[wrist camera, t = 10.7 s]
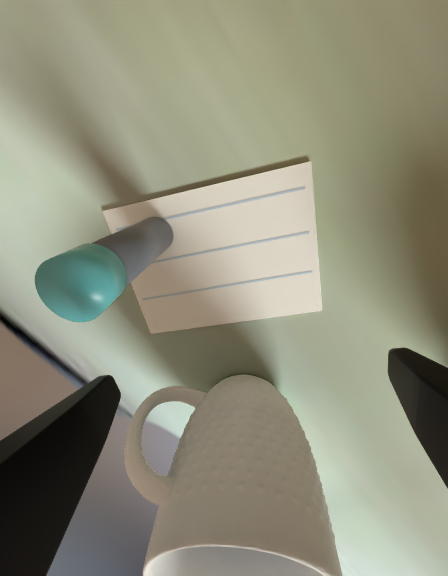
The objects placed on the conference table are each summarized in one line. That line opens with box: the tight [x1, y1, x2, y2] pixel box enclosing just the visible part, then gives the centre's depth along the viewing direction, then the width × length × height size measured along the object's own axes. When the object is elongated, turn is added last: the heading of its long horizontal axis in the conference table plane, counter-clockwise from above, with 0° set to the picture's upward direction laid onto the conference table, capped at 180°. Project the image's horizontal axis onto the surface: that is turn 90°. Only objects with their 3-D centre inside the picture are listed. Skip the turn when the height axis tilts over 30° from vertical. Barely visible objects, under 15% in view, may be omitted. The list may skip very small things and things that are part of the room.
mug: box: [124, 374, 342, 576], centre depth 19 cm, size 15×11×13 cm
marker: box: [35, 217, 173, 322], centre depth 14 cm, size 3×3×10 cm
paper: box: [102, 161, 322, 334], centre depth 19 cm, size 15×11×1 cm
